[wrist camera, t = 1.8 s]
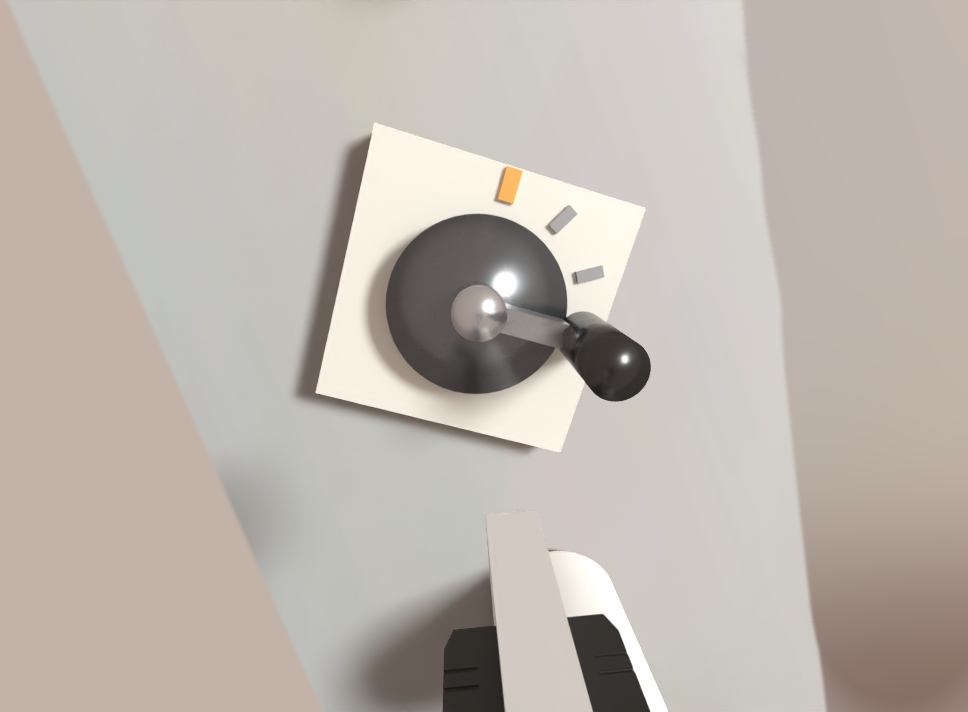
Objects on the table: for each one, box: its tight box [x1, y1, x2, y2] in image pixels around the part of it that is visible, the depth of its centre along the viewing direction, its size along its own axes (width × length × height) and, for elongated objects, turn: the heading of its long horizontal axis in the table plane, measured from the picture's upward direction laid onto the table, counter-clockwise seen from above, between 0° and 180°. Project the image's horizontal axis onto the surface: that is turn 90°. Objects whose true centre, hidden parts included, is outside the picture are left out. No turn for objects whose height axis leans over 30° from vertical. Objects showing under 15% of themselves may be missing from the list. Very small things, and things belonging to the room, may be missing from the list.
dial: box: [386, 214, 651, 401], centre depth 23 cm, size 11×9×7 cm
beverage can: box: [493, 551, 668, 712], centre depth 28 cm, size 8×8×12 cm
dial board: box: [316, 123, 646, 452], centre depth 28 cm, size 14×14×2 cm
